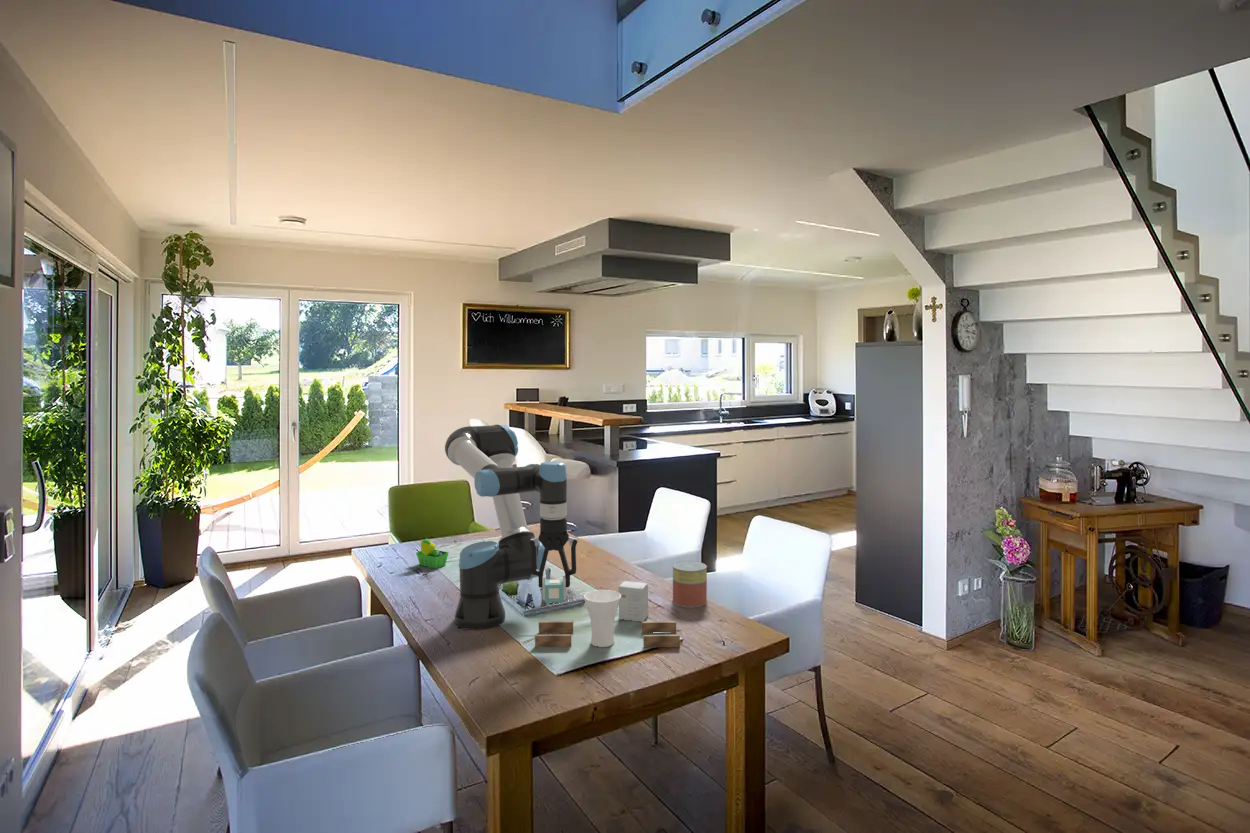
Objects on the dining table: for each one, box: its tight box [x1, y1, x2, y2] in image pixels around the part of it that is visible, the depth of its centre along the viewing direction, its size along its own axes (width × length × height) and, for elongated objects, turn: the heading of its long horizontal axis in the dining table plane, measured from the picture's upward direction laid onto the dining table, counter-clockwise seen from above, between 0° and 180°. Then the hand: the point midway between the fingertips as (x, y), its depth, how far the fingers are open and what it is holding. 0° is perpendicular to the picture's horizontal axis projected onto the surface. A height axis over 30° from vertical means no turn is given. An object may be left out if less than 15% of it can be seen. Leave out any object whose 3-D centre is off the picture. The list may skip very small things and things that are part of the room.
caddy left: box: [534, 620, 574, 648], centre depth 193 cm, size 10×11×3 cm
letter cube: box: [544, 578, 564, 603], centre depth 192 cm, size 5×5×5 cm
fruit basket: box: [415, 538, 450, 570], centre depth 264 cm, size 11×9×11 cm
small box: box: [617, 580, 649, 623], centre depth 209 cm, size 8×6×10 cm
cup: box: [583, 589, 621, 648], centre depth 190 cm, size 10×10×14 cm
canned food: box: [672, 560, 708, 608], centre depth 223 cm, size 11×11×12 cm
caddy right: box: [641, 620, 681, 648], centre depth 192 cm, size 10×11×3 cm
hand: (554, 598), depth 192 cm, fingers closed on letter cube, 5 cm apart
